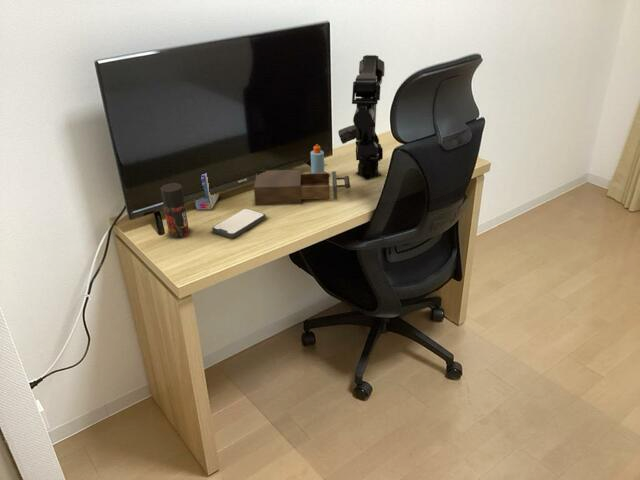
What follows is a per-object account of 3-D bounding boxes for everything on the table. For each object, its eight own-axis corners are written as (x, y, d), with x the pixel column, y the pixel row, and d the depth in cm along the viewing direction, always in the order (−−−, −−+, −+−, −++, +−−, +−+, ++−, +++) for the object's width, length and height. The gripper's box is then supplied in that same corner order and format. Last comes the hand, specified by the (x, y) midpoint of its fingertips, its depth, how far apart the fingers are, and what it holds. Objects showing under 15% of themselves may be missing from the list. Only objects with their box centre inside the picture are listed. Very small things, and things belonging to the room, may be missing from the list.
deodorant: (171, 228, 174) (163, 183, 167) (191, 228, 174) (183, 182, 167) (166, 238, 169) (158, 192, 162) (186, 238, 169) (178, 191, 161)
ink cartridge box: (203, 196, 193) (197, 155, 186) (219, 196, 193) (214, 156, 186) (194, 209, 185) (188, 167, 178) (211, 210, 184) (205, 168, 177)
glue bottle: (319, 172, 208) (318, 141, 202) (326, 176, 204) (326, 145, 199) (309, 175, 206) (307, 144, 200) (315, 179, 202) (314, 148, 196)
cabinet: (301, 186, 198) (301, 169, 195) (301, 203, 186) (300, 185, 183) (258, 187, 198) (257, 170, 195) (255, 205, 186) (253, 187, 183)
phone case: (245, 212, 183) (210, 232, 171) (245, 207, 182) (210, 227, 171) (267, 218, 179) (233, 240, 167) (267, 214, 178) (232, 235, 166)
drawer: (348, 183, 197) (348, 170, 195) (350, 198, 186) (350, 185, 184) (295, 185, 197) (294, 172, 195) (294, 200, 186) (293, 187, 184)
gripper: (338, 110, 187) (339, 155, 195) (341, 129, 171) (341, 177, 179) (372, 108, 187) (372, 154, 195) (378, 128, 171) (377, 176, 179)
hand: (365, 165), depth 187 cm, fingers closed
